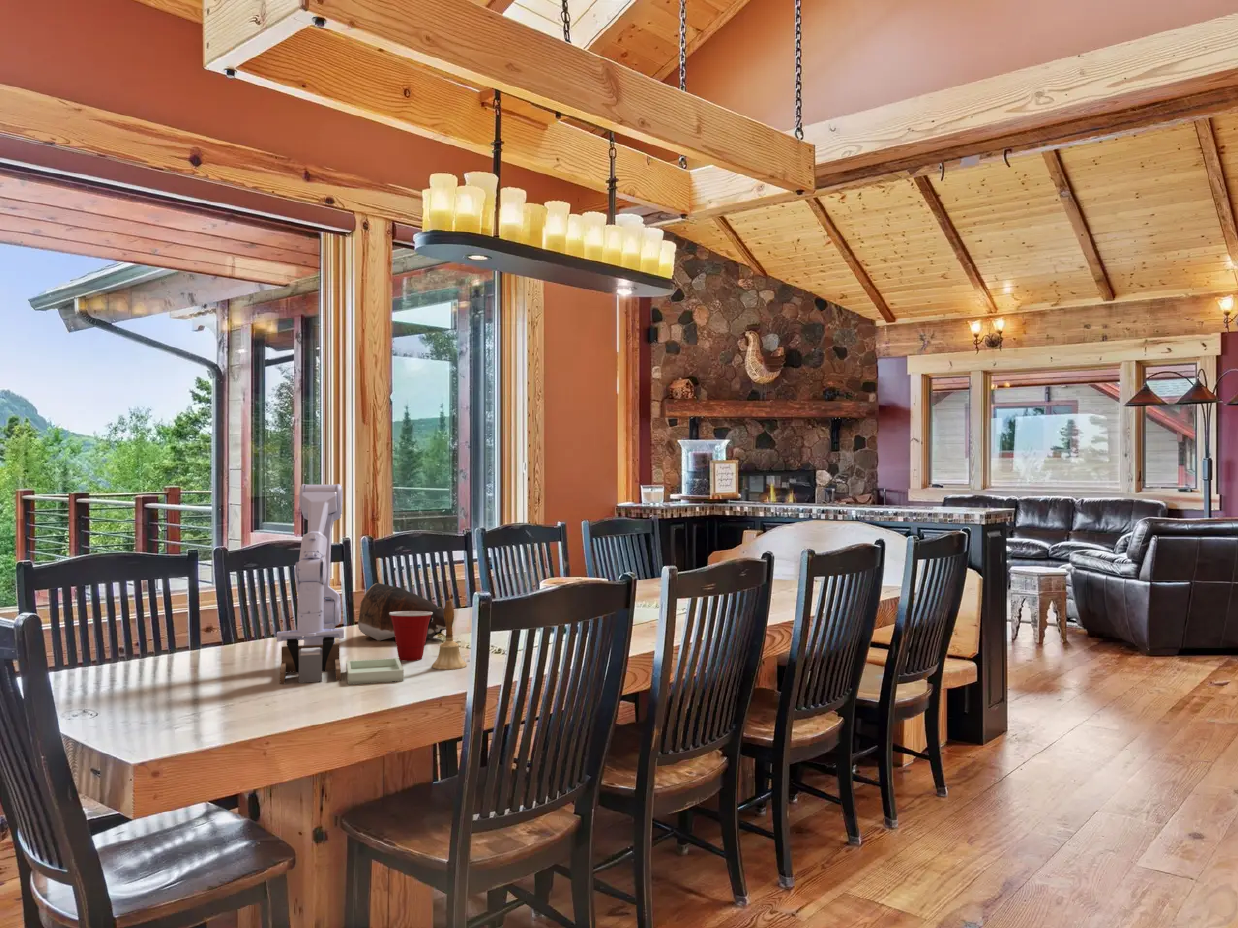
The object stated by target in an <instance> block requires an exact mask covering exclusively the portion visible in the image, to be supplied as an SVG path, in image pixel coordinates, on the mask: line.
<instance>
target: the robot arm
mask: <svg viewBox="0 0 1238 928" xmlns="http://www.w3.org/2000/svg"><path fill="white" fill-rule="evenodd" d="M298 495H299V496H298V497H299V498H298V499H299V500H298V501H299V507H300V510H301V514H302V516H303V519H304V520H307V533H305V534H304V535H303V536H302V538H301V544H300V550H299V551H300V552H299V557H298V558H299V559H298V561H296V562H295V565H294V580H295V591H296V593H297V612H296V613H297V614H296V615H297V616H296V619H297V624H296V625H297V628H296V629H295V630H284V631H277V632H276V642H277V643H279V642H280V643H281V642H283V641H284V642H285V641H286V646H287V647H288V649H289V651H290V653H291V655H292V658H293V661H294V664H295V669H296V672H295V674H299V658H298V646H299V641H302V640H303V645H320V644H323V659H322V672H326V670H325V667H326V662H327V659H328V656H329V653H330V650H331V648H332V646H333V644H336V639H344V638H345V630H344V628H336V626H339V624H341V621H342V604H341V602H342V601H341V599H342V598H341V596H340V593H339V592H338V591H336V590H335V589H334V588H332V587H331V585H330V582H331V578H330V577H331V554H332V553H331V552H332V551H331V549H332V531H333V525H334V523H335V522H336V521H337V520H340V519H341V517H342V514H343V495H344V494H343V486H342V485H341V484H340V483H336V484H305V483H302V484H301V485H300V487H299V494H298Z"/></svg>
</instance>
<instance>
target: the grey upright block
mask: <svg viewBox="0 0 1238 928" xmlns="http://www.w3.org/2000/svg"><path fill="white" fill-rule="evenodd" d="M319 681H320V682H323V671H322V648H302V649H299V673H298V683H299V684H301V683H318V682H319Z"/></svg>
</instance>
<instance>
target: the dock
mask: <svg viewBox="0 0 1238 928" xmlns="http://www.w3.org/2000/svg"><path fill="white" fill-rule="evenodd" d="M302 648H322V659H323V644H320V645H304V644H303V645H298V658H299V649H302ZM280 662H281V663H280V670H279V685H285V682H286V676H287V673H289V674H290V673H296V669H295V664H294V661H293V658H292V655H291V653H290V651H289V649H288V647H287V645H285V646H284V645H283V646H281V661H280ZM333 670H334V674H335V675H334V676H335V681H336V680H337V681H341V680H342V679H341V677H342V675H341V674H342V673H341V672H342V671H341V670H342V669H341V660H340V643H335V644H333V646H332V648H331V650H330V653H329V656H328V659H327V662H326V667H325V671H333Z"/></svg>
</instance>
